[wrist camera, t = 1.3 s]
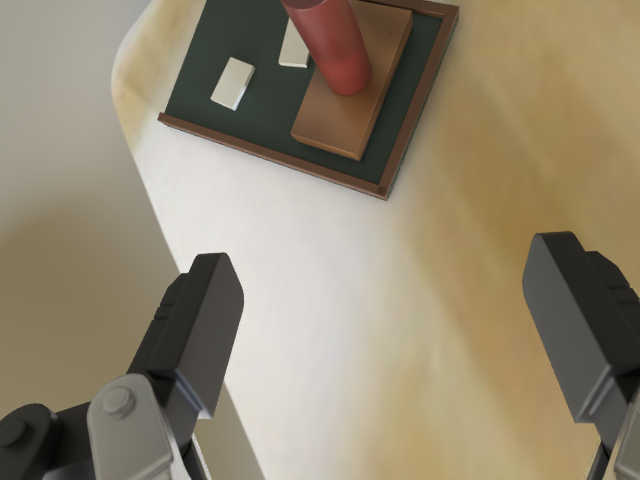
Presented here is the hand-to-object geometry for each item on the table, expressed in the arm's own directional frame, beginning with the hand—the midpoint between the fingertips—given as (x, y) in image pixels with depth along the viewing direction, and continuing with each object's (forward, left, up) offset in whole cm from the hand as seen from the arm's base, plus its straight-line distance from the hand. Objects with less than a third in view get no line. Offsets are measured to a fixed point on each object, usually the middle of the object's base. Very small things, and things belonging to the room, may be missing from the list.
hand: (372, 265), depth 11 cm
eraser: (-12, -9, -19) cm, 24 cm away
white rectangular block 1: (-10, -20, -19) cm, 29 cm away
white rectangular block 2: (-14, -15, -19) cm, 28 cm away
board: (-12, -15, -20) cm, 27 cm away
